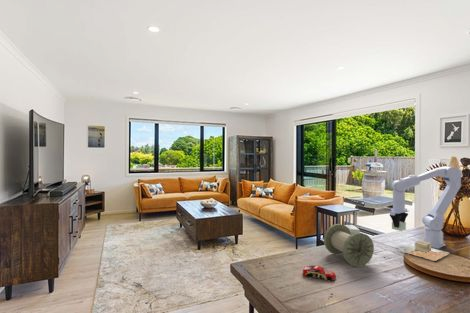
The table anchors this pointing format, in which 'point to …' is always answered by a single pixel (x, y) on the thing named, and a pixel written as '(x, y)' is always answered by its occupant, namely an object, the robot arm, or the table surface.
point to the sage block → (400, 226)
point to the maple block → (422, 246)
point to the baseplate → (412, 248)
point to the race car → (318, 273)
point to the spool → (349, 244)
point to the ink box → (352, 229)
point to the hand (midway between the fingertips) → (398, 226)
